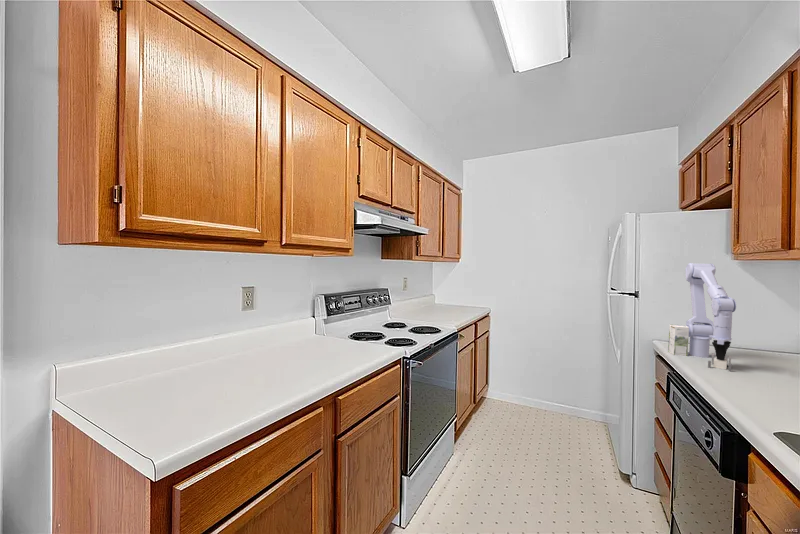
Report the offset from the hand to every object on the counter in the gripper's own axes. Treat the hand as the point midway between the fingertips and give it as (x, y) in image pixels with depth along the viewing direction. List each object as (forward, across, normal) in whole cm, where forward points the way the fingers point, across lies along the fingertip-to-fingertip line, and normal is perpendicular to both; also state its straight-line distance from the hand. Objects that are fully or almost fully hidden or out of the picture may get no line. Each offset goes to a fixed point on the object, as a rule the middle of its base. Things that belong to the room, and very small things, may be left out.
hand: (720, 358), depth 155 cm
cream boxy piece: (+4, -3, 0) cm, 5 cm away
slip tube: (+3, 0, 0) cm, 3 cm away
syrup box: (+4, -12, -16) cm, 20 cm away
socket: (+4, +5, 0) cm, 7 cm away
